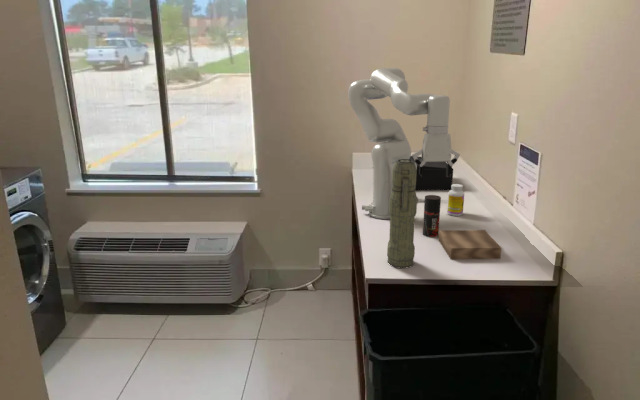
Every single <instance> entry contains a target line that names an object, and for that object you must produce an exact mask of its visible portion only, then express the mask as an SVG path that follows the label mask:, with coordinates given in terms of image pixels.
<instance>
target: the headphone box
mask: <svg viewBox="0 0 640 400" xmlns="http://www.w3.org/2000/svg"><path fill="white" fill-rule="evenodd" d="M417 158H418V160H419V161H421V159H422V156H417ZM409 160H412V161H414V162H415V160H414V158H413V156H412V155H411V157H410V158H409ZM415 163H416V162H415ZM416 165H417V174H416V186H415V189H416V191H450V190H452V189H451V185H452V184H453V178H454V168H453V167H452V172H451V174H450V177H448V176H447V175H446V165H448V163H447V162H426V163H425V164H424V165H423V166H424V177H421V176H420V175H419V165H418V164H417V163H416Z"/></svg>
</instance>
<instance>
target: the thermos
mask: <svg viewBox="0 0 640 400" xmlns="http://www.w3.org/2000/svg"><path fill="white" fill-rule="evenodd" d="M416 174H417V169H416V165H415V162H414V161H412V160H409V159H399V160H398V161H395V164H394V167H393V170H392V192H391V195H390V198H389V213H390V219H389V238H388V242H387V248H386V249H387V251H386V252H387V253H386V254H387V262H386V263H387V264H388V263H389V264H390V265H392V266H394V267H393V268H396V267H400V268H399V269H407V268H406V267H408V268H411V267H413V265H414V261H415V260H414V258H415V253H416V252H415V250H416V249H415V247H416V246H415V243H414V237H415V221H416V220H415V217H416V215H417V211H418V210H417V209H418V208H417V206H418V199H417V197H418V196H417V190H416V189H415V186H416ZM389 264H388V265H389ZM390 265H389V266H390ZM392 266H391V267H392ZM410 266H411V267H410Z"/></svg>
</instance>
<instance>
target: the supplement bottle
mask: <svg viewBox="0 0 640 400" xmlns="http://www.w3.org/2000/svg"><path fill="white" fill-rule="evenodd" d="M463 187H464V186H463V184H461V183H460V184H459V183H452V185H451V189H452V190H448V192H447V195H448V197H447V206H446V207H447V208H446V210H447V211H446V213H447V214H448V215H449V216H454V217H459V216H460V217H461V216H462V215H463V213H464V207H465V206H464V202H465V192H464V191H463Z"/></svg>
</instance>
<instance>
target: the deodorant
mask: <svg viewBox="0 0 640 400" xmlns="http://www.w3.org/2000/svg"><path fill="white" fill-rule="evenodd" d="M441 200H442V197H441V196H439V195H436V194H427V195H425V196H424V204H423V206H424V208H423V220H422V221H423V223H422V235H423V236H425V237H427V238H436V237H439V230H440V216H441V204H442V203H441Z"/></svg>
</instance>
